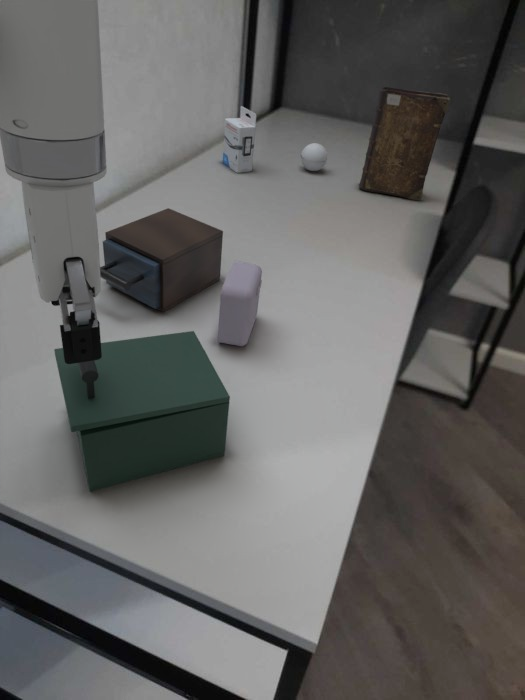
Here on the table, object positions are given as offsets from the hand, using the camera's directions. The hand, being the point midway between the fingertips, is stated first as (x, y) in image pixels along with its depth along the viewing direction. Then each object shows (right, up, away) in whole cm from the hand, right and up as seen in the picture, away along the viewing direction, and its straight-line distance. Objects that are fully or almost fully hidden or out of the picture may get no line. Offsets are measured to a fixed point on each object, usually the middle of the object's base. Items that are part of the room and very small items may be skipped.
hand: (75, 329), depth 51 cm
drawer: (-1, +9, +38) cm, 39 cm away
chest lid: (+5, -5, +7) cm, 10 cm away
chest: (+4, -12, +13) cm, 18 cm away
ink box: (+11, +48, +92) cm, 104 cm away
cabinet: (+1, +10, +41) cm, 42 cm away
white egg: (+32, +48, +95) cm, 111 cm away
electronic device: (+15, +1, +32) cm, 35 cm away
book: (+52, +40, +89) cm, 111 cm away
